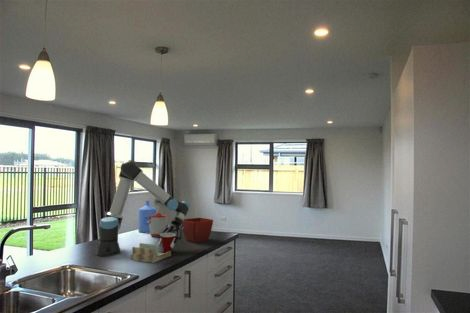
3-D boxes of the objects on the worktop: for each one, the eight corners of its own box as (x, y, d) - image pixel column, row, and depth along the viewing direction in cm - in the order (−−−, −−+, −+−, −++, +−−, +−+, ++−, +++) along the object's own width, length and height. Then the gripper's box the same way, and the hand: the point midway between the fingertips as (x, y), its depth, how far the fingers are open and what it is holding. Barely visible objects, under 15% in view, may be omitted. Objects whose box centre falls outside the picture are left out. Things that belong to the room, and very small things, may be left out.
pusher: (139, 255, 221) (139, 243, 221) (140, 255, 222) (140, 243, 222) (157, 258, 215) (157, 245, 216) (157, 257, 216) (158, 244, 217)
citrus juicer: (145, 235, 299) (145, 211, 300) (165, 233, 306) (165, 211, 307) (148, 238, 285) (149, 213, 286) (169, 236, 292) (169, 212, 293)
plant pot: (180, 240, 277) (180, 219, 277) (199, 237, 289) (199, 217, 290) (193, 244, 262) (194, 222, 263) (213, 241, 275) (213, 219, 276)
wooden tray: (130, 259, 216) (131, 247, 216) (149, 253, 233) (149, 241, 234) (153, 262, 209) (153, 249, 209) (170, 255, 227) (171, 243, 227)
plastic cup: (160, 253, 232) (160, 235, 232) (159, 249, 242) (159, 232, 242) (176, 252, 234) (176, 235, 235) (174, 249, 245) (175, 232, 245)
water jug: (134, 232, 313) (135, 201, 314) (146, 229, 327) (147, 199, 328) (147, 233, 306) (148, 201, 307) (159, 230, 320) (159, 200, 321)
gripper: (193, 224, 249) (181, 251, 234) (167, 222, 257) (154, 247, 242) (189, 217, 244) (176, 244, 229) (163, 215, 253) (149, 241, 237)
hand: (165, 246), depth 235 cm, fingers closed on plastic cup, 9 cm apart
